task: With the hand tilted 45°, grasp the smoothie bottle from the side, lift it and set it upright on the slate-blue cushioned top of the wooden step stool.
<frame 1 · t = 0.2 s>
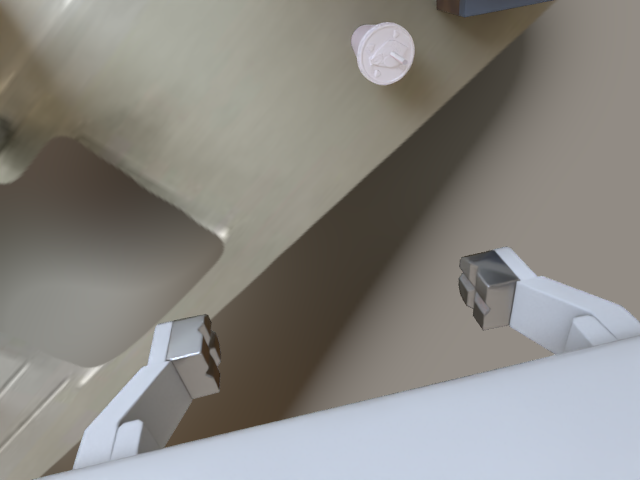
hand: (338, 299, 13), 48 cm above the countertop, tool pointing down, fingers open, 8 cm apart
smoothie: (364, 40, 54), on the countertop
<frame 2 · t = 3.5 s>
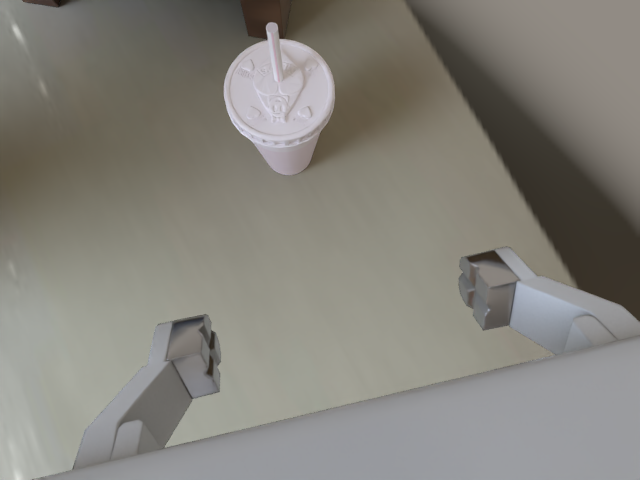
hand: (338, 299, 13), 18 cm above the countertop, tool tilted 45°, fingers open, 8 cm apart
smoothie: (288, 153, 34), on the countertop
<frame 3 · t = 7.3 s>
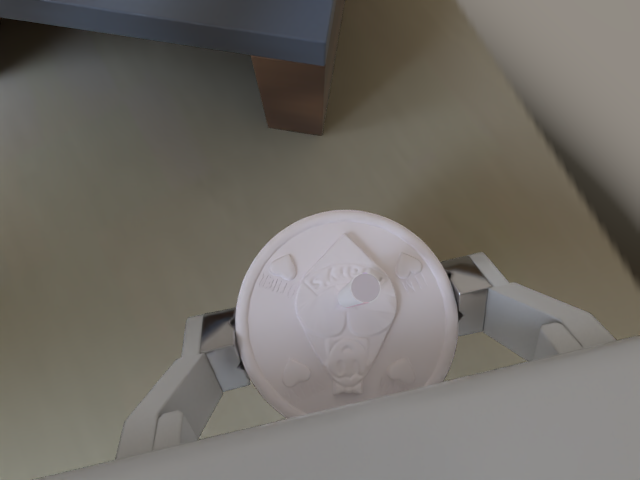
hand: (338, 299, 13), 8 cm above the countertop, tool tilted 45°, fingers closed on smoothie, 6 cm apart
wooden step stool: (146, 17, 24), on the countertop
smoothie: (332, 317, 21), on the countertop, touching gripper
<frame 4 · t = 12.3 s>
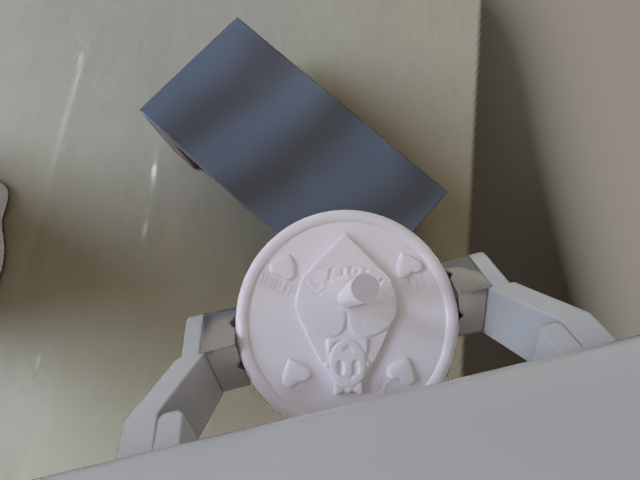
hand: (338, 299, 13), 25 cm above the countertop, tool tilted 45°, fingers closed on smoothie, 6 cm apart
wooden step stool: (295, 182, 40), on the countertop
smoothie: (332, 317, 21), point 17 cm above the countertop, touching gripper
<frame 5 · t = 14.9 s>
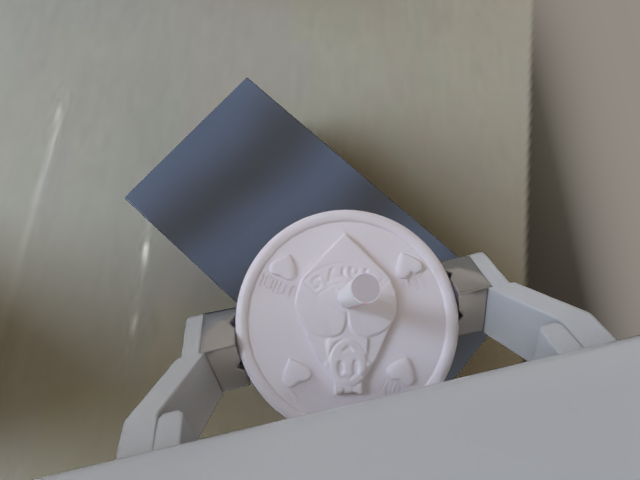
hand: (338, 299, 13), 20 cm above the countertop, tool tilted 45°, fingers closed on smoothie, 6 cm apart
wooden step stool: (315, 265, 34), on the countertop
smoothie: (332, 317, 21), point 12 cm above the countertop, touching gripper
when the fingers open (16 cm above the countertop, at t = 17.2 s): smoothie stays where it is, resting on wooden step stool.
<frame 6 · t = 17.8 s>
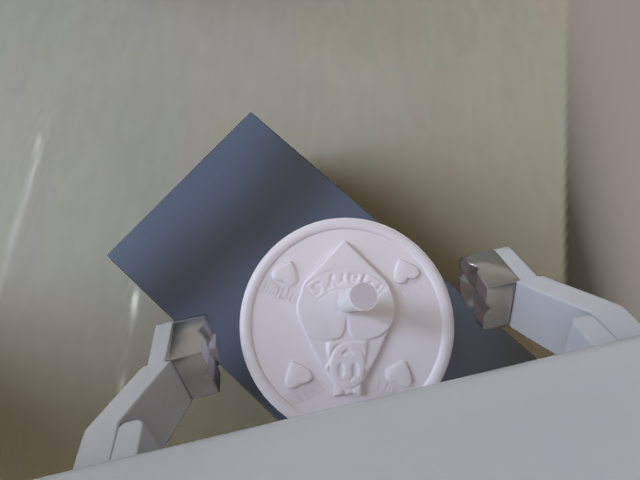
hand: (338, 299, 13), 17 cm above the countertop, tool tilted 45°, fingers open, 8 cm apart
wooden step stool: (327, 317, 30), on the countertop
smoothie: (332, 319, 22), point 8 cm above the countertop, touching wooden step stool
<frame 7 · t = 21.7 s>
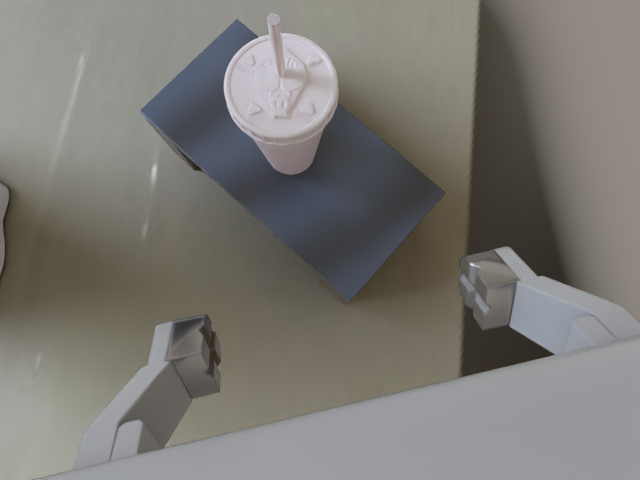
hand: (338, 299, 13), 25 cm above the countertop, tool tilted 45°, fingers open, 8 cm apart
wooden step stool: (295, 183, 40), on the countertop
smoothie: (291, 152, 33), point 8 cm above the countertop, touching wooden step stool
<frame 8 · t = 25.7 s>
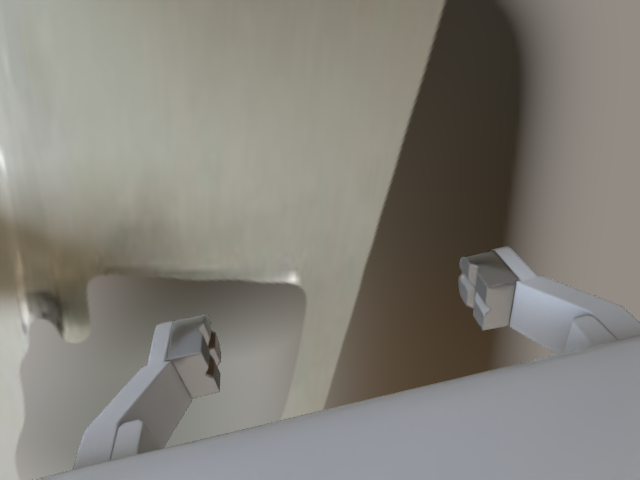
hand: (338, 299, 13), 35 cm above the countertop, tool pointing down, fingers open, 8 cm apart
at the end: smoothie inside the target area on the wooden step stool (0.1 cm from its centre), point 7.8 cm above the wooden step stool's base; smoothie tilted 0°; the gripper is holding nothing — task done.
